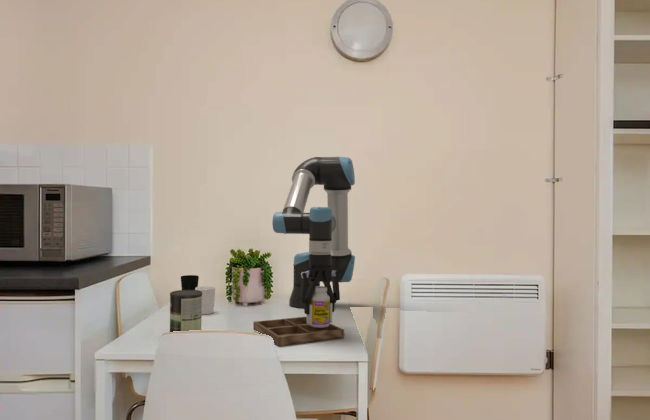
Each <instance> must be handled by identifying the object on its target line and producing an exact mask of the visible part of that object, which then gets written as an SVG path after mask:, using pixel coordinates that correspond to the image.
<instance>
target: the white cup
mask: <svg viewBox="0 0 650 420" xmlns="http://www.w3.org/2000/svg"><path fill="white" fill-rule="evenodd" d="M195 290H198V291H202V315H211V314H214V311H215V309H214V307H215V301H216V300H215V299H216V297H215V296H216V287H214V286H209V285H208V286H206V285H205V286H198V287H196V288H195Z"/></svg>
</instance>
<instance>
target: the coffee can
mask: <svg viewBox="0 0 650 420" xmlns="http://www.w3.org/2000/svg"><path fill="white" fill-rule="evenodd" d="M202 315H203V314H202V291H198V290H182V289H179V290H174V291H171V292H170V293H169V333H170V332H173V331H189V330H201V331H202Z"/></svg>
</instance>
